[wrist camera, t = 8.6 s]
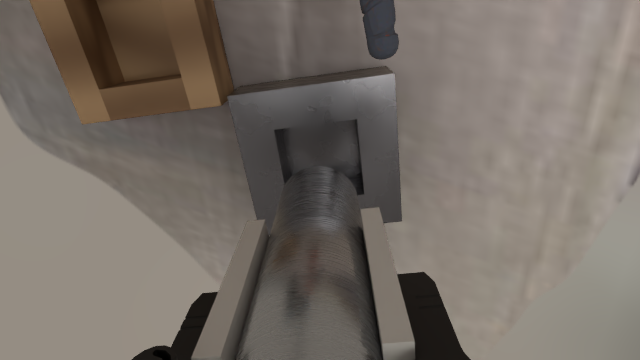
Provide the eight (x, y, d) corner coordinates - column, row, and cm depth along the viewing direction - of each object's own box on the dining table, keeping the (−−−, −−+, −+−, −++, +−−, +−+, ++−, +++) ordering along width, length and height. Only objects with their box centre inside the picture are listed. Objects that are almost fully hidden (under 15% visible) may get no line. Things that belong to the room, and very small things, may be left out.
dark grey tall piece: (262, 143, 17) (-11, 641, 3) (357, 131, 17) (482, 635, 3) (287, 260, 20) (194, 790, 6) (369, 253, 20) (460, 795, 6)
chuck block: (240, 86, 24) (227, 96, 21) (385, 66, 24) (394, 73, 20) (268, 211, 28) (261, 235, 25) (393, 197, 28) (401, 221, 24)
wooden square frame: (58, -34, 22) (11, -43, 18) (199, -58, 21) (176, -72, 18) (113, 111, 25) (82, 124, 22) (235, 94, 25) (221, 105, 21)
